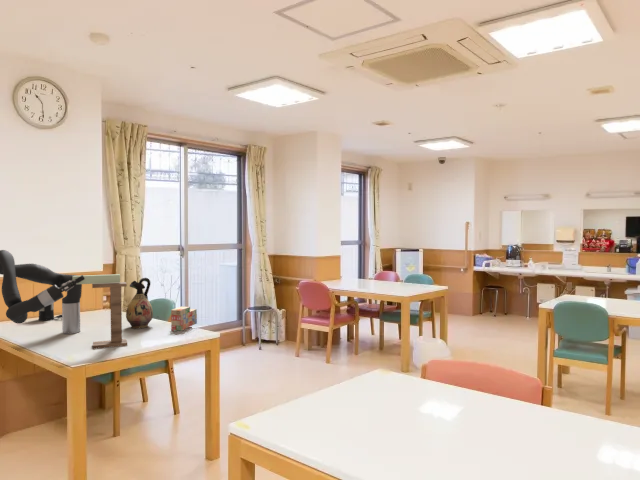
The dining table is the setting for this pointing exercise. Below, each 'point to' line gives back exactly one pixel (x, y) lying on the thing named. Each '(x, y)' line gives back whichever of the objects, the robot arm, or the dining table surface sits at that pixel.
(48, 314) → the milk frother
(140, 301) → the ceramic jug
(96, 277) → the sage batten
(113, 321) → the walnut stand
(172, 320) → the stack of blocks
